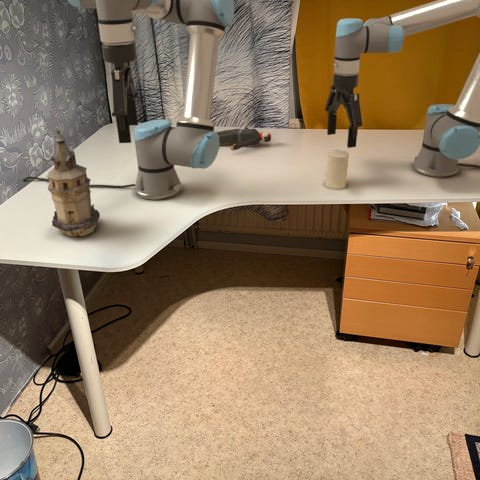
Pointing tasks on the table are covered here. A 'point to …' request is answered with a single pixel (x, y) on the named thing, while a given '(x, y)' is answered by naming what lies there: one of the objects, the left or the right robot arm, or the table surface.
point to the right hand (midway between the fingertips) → (341, 140)
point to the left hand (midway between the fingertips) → (129, 133)
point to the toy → (243, 137)
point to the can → (336, 169)
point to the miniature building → (70, 193)
